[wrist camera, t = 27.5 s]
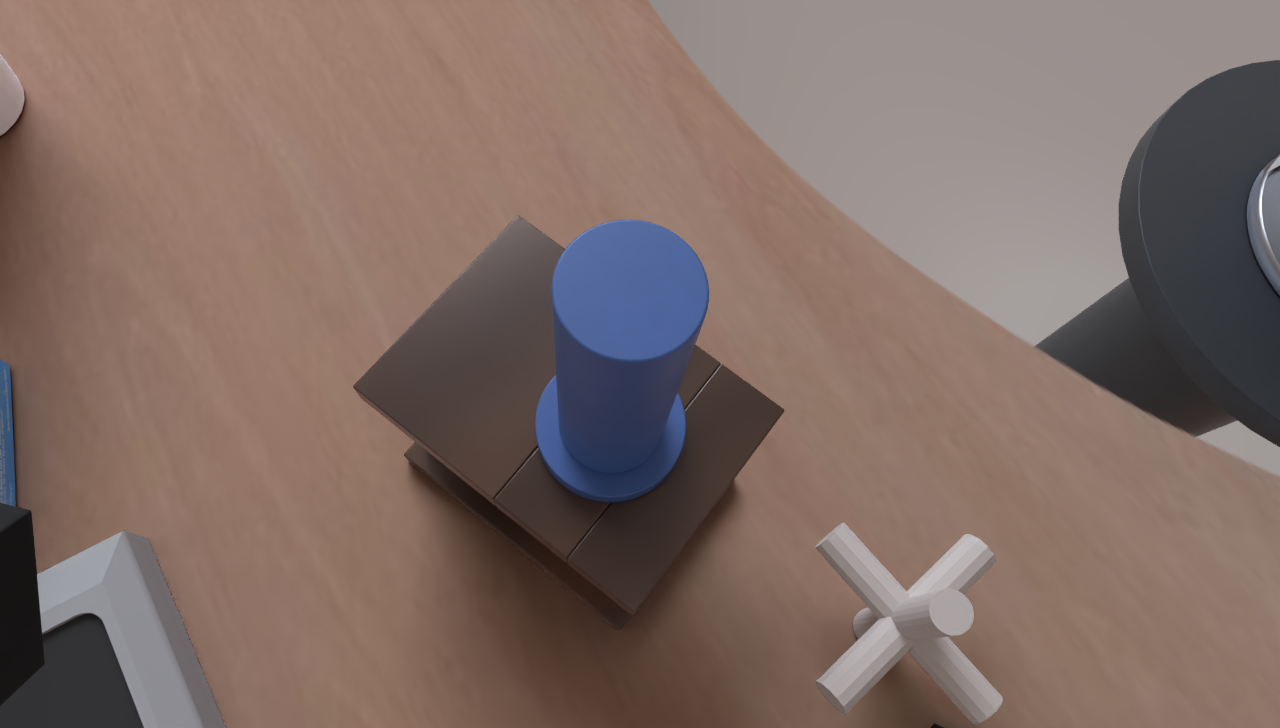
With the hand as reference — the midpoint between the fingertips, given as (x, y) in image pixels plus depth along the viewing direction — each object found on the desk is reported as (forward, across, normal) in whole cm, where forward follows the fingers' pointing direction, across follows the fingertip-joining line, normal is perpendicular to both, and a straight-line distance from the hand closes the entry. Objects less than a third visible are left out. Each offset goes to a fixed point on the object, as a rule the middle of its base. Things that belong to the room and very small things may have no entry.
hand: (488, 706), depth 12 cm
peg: (+25, 0, -11) cm, 28 cm away
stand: (+30, -2, -15) cm, 34 cm away
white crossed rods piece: (+28, +15, -18) cm, 36 cm away
